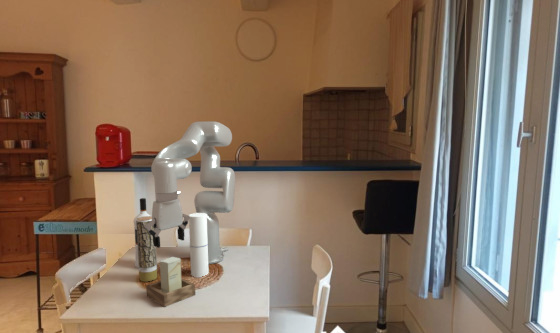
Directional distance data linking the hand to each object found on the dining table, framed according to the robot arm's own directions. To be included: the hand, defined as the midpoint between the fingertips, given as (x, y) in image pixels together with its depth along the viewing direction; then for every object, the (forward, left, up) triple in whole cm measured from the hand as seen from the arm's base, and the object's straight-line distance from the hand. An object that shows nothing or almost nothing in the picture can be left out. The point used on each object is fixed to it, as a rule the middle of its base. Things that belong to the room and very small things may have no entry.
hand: (169, 243), depth 142 cm
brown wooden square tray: (+1, 0, -19) cm, 19 cm away
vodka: (-8, -35, -20) cm, 41 cm away
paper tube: (-1, -20, -20) cm, 28 cm away
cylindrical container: (-18, -9, -20) cm, 28 cm away
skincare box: (0, 0, -18) cm, 18 cm away
